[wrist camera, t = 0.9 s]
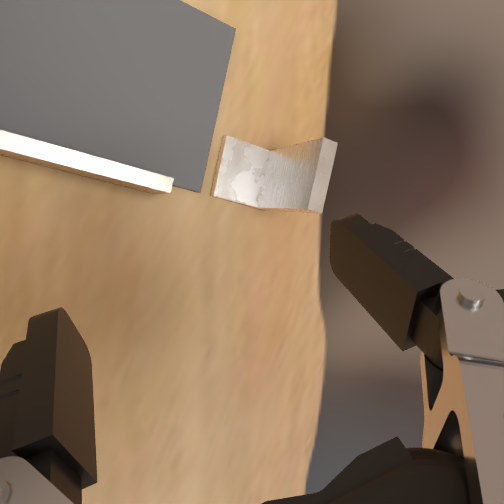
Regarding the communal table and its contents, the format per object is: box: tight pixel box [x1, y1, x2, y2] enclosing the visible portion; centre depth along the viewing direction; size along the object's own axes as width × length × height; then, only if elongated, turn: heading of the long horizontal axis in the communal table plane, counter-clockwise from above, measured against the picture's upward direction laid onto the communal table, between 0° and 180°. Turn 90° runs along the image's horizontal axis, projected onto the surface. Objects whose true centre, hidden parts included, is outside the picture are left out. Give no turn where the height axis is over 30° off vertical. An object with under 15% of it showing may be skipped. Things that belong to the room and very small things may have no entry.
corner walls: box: [0, 130, 174, 194], centre depth 28 cm, size 17×18×6 cm
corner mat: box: [0, 0, 236, 192], centre depth 31 cm, size 20×16×1 cm
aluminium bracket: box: [210, 135, 338, 213], centre depth 34 cm, size 6×6×10 cm
